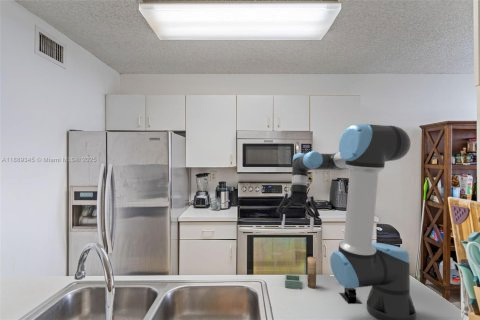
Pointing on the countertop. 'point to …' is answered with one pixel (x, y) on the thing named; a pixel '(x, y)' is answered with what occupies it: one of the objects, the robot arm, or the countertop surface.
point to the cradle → (293, 281)
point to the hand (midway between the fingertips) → (297, 230)
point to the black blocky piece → (350, 296)
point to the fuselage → (311, 272)
